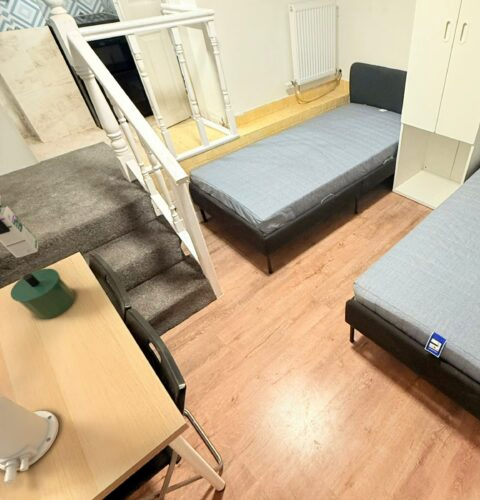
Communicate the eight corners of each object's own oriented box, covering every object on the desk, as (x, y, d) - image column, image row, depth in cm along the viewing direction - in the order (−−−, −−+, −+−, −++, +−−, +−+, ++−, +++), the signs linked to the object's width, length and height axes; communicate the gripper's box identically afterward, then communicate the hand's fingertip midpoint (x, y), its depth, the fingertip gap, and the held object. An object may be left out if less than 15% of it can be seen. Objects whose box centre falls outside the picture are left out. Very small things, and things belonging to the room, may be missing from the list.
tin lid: (65, 286, 101) (56, 276, 98) (17, 310, 95) (6, 301, 92) (54, 264, 108) (46, 254, 104) (9, 286, 102) (-2, 276, 98)
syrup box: (38, 251, 103) (5, 215, 93) (15, 259, 101) (-21, 222, 91) (39, 241, 107) (7, 204, 96) (17, 247, 105) (-17, 211, 94)
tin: (79, 303, 107) (62, 285, 100) (38, 325, 102) (17, 307, 95) (69, 283, 113) (52, 265, 107) (30, 303, 108) (10, 284, 101)
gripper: (-34, 184, 80) (17, 239, 93) (-21, 153, 91) (23, 206, 104) (-73, 193, 78) (-15, 248, 90) (-55, 161, 89) (-6, 214, 101)
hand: (5, 225), depth 97 cm, fingers closed on syrup box, 5 cm apart
